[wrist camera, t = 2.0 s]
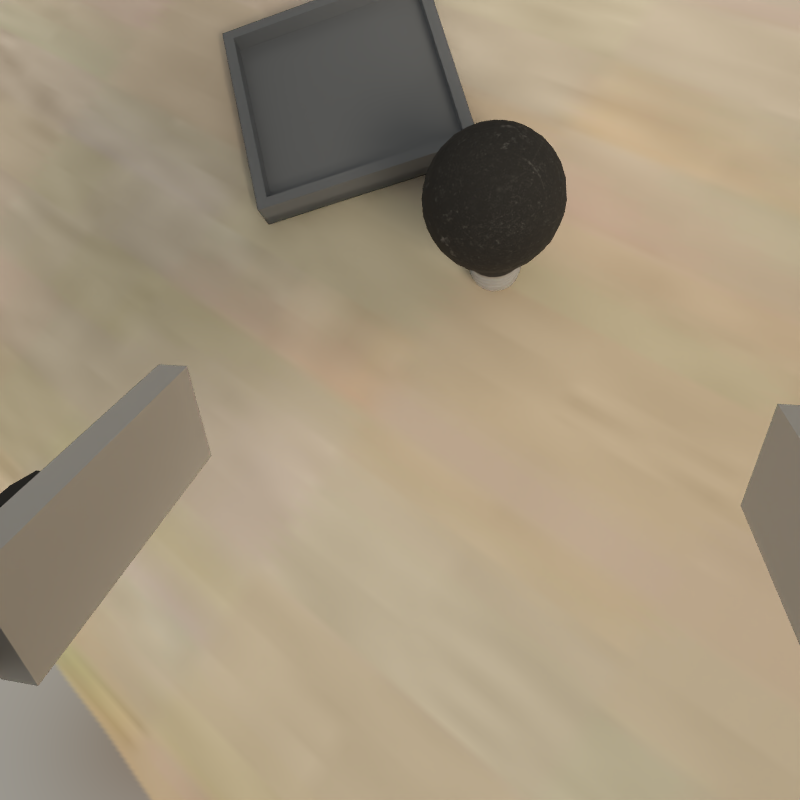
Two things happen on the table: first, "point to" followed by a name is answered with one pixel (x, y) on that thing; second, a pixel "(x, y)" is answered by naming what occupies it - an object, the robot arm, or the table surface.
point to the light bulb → (494, 199)
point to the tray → (342, 99)
